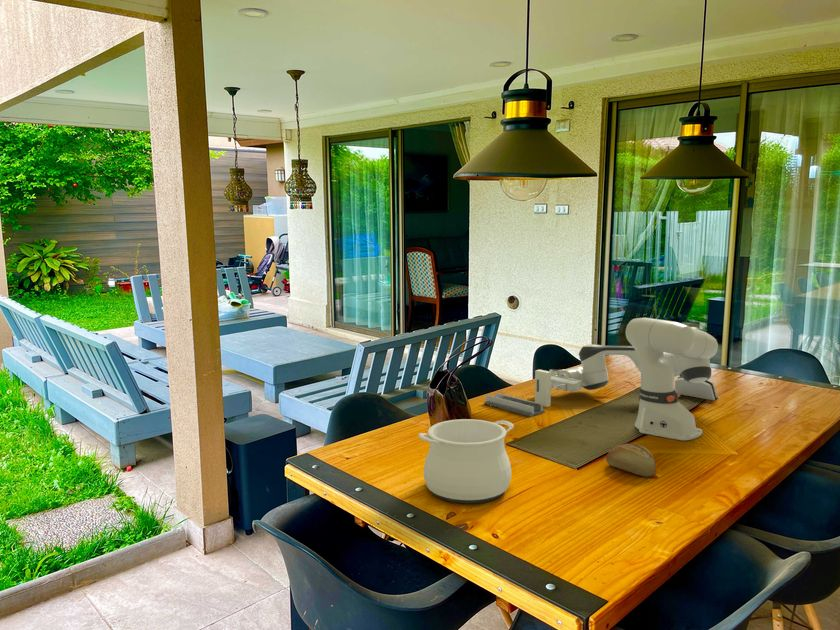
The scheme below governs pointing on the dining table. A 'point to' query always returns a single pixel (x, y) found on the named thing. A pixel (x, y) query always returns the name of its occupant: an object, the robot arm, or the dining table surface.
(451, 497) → the pot
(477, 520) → the dining table surface
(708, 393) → the white curved block
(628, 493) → the dining table surface
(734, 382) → the dining table surface
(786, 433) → the dining table surface
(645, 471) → the bread roll
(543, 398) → the white rectangular block
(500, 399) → the track
